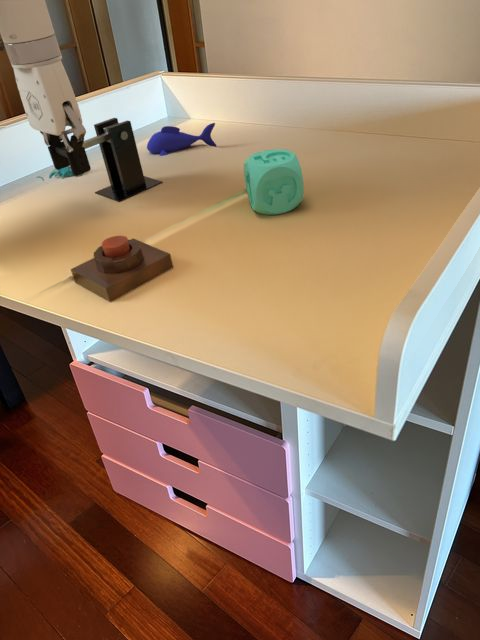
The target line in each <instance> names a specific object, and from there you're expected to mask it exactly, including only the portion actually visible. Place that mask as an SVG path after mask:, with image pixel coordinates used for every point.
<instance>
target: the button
mask: <svg viewBox="0 0 480 640" xmlns="http://www.w3.org/2000/svg"><path fill="white" fill-rule="evenodd" d="M128 240H129V239H128V237H126V236H125V235H113V236H110V237H108V238H105V239H104V240H103V241H102V242H101V246H102V248H103V251H104V254H105V256H106V257H107V258H116V257H120V256H123V255H125V254H127V253H129V252H130V246H129V242H128Z"/></svg>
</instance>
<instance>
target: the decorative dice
mask: <svg viewBox="0 0 480 640" xmlns="http://www.w3.org/2000/svg"><path fill="white" fill-rule="evenodd" d="M301 167H302V166H301V164H300V160H299V159H298V157H297V155H296V153H294V152H292V151H291V150H288V149H283V148H274V149H266V150H261V151H257V152H254V153H252V154H251V155H249V156H248V158H247V159H246V160H245V162H244V163H243V174H244V175H243V176H244V183H245V188H246V193H247V197H248V202H249V204H250V206H251V209H252V210H253V211H254V212H256V213H258V214H261V215H268V216H273V215H274V216H275V215H282V214H286V213H289V212H291V211H293V210H295V209H296V208H297V207H298V206H299V205H300V203H301V202H302V201H303V198H304V193H305V191H304V190H305V189H304V188H305V187H304V178H303V172H302V168H301Z"/></svg>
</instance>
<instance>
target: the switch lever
mask: <svg viewBox="0 0 480 640" xmlns="http://www.w3.org/2000/svg"><path fill="white" fill-rule="evenodd" d="M113 125H116V123H115V124H113ZM113 125H110V126H113ZM110 126H107V127H110ZM107 127H105V128H103V130H104V134H101V135H98V136H97V135H96V136H94V137H91V138H88V139H84V143H85V147H84V148H85V150H87V149H89V148H92V147H94V146H98V145H99V144H100V143H102V142H105V141H107V142H110V139H109V135H108V132H107ZM67 151H68V150H67V148H65V147H61V146H56V147H55V148H54V152H55V153H56V154H57V155H61V156H64V157H67V155H66V152H67Z"/></svg>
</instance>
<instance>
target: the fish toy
mask: <svg viewBox="0 0 480 640" xmlns="http://www.w3.org/2000/svg"><path fill="white" fill-rule="evenodd" d="M215 126H216V123H215V122H212V123H209V124H208V125H206V126H205V127H204V129H202V131H201V133H200V135H194V134H189V133H186V132H183V131H180V130H181V128H179V127H177V126H173V125H172V126H171V125H166V126H163V127H161V129H160V130H159V131H157V132H154V133H153V135H151V137H150V138H149V140H148V142H147V145H146V149H147V151H148V152H149V153H150V154H151V155H152V154H153V155H159V157H164V156H168V155H169V153H172V152H177V151H181V150H184V149H186V148H187V149H188V148H191V147H192V145H193V144H195V143H196V142H198V141H202V142H204V143H205V144H206V145H207V146H209V147H217V143H216V142H215V141H214V140H213V138H212V136H211V135H212V134H211V133H212V131H213V129H214V128H215Z"/></svg>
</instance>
